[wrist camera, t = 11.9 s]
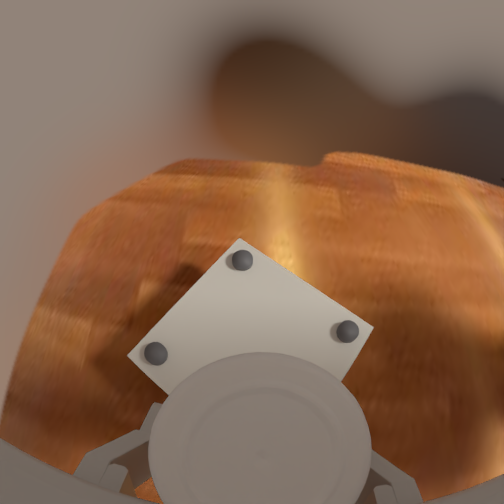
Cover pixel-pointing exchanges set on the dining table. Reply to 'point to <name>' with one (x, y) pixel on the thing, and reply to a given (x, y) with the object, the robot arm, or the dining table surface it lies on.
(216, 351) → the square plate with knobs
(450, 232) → the dining table surface
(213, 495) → the sprinkles bottle
